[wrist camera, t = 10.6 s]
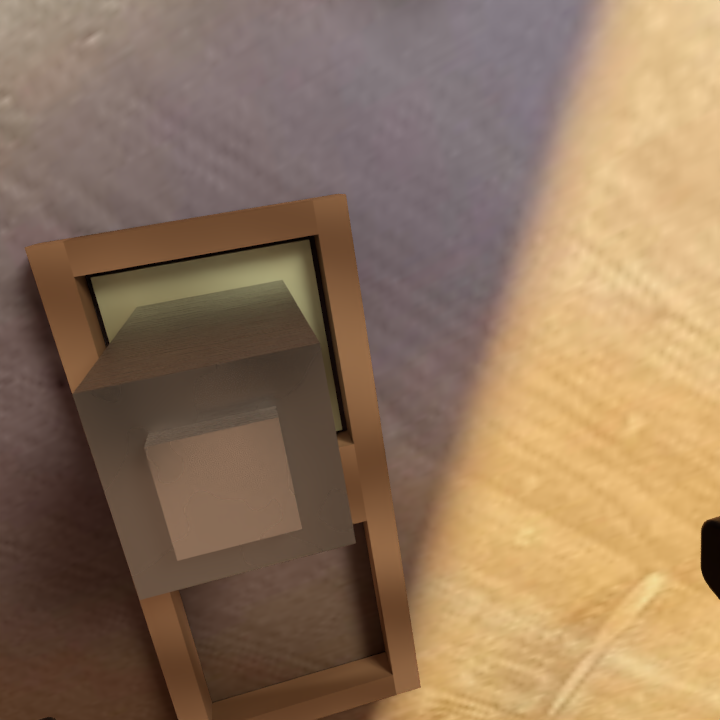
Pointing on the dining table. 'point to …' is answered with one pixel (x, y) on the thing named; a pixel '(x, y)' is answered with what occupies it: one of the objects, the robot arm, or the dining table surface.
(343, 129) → the dining table surface
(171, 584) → the grey tall block
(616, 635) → the dining table surface
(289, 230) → the wooden double frame
